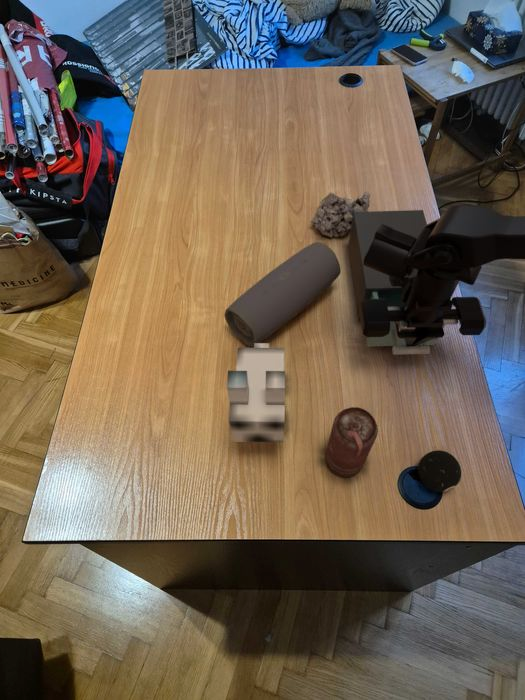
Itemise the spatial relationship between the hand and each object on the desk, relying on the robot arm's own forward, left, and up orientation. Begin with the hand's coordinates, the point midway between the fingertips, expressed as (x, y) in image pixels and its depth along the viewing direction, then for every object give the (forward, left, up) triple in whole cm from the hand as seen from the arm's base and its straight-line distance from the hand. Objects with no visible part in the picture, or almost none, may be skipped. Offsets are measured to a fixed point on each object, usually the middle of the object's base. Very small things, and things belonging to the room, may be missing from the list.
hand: (408, 345), depth 81 cm
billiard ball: (-11, +19, -5) cm, 22 cm away
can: (+2, +22, -5) cm, 23 cm away
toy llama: (+18, +20, -5) cm, 28 cm away
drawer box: (+9, -16, -5) cm, 19 cm away
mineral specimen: (+23, -27, -5) cm, 36 cm away
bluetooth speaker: (+24, -1, -5) cm, 25 cm away
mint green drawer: (+4, -8, -4) cm, 10 cm away
